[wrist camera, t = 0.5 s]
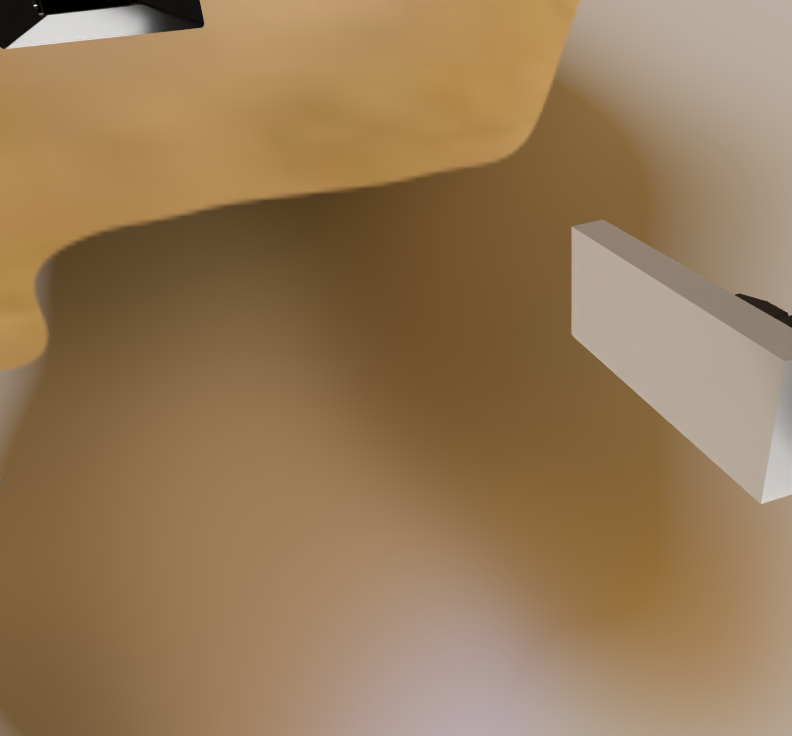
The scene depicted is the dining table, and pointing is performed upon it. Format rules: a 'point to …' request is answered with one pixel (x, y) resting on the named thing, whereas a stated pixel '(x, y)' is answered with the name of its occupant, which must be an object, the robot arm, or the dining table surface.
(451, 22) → the dining table surface
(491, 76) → the dining table surface
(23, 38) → the black bracket plate
